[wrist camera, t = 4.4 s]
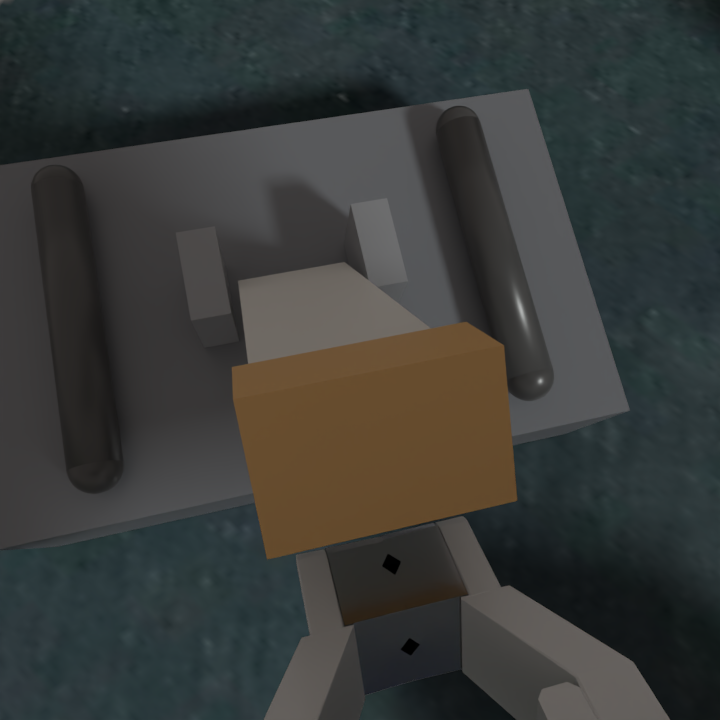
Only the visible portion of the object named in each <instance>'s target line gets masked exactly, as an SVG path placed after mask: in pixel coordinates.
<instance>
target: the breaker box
mask: <svg viewBox="0 0 720 720" xmlns="http://www.w3.org/2000/svg"><path fill="white" fill-rule="evenodd" d="M342 262H345V263H347V264H348V265H349V266H350V267H352V268H353V269H354V270H356V271H357V272H358V273H360V274H361V275H362V276H363V277H365V278H366V279H367V280H369V281H370V282H371V283H373V284H374V285H375V286H376V287H378V288H379V289H380V290H382V291H383V292H384V293H386V294H387V295H388V296H390V297H391V298H392V299H393V300H395V301H396V302H397V303H399V304H400V305H401V306H403V307H404V308H405V309H406V310H408V311H409V312H410V313H412V314H413V315H414V316H416V317H417V318H418V319H419V320H421V321H422V322H423V323H425V324H426V325H427V326H429V327H430V328H436V327H441V326H447V325H452V324H457V323H462V322H468V323H469V324H471V325H472V326H474V327H476V328H477V329H479V330H480V331H482V332H484V333H485V334H487V335H488V336H490V337H492V338H493V339H495V340H496V341H498V342H500V343H501V344H503V345H504V351H505V363H506V375H507V386H508V398H509V409H510V421H511V433H512V444H513V445H517V444H522V443H526V442H531V441H535V440H540V439H544V438H549V437H553V436H558V435H562V434H566V433H569V432H572V431H574V430H577V429H580V428H583V427H585V426H588V425H591V424H594V423H596V422H599V421H602V420H605V419H607V418H610V417H613V416H616V415H618V414H621V413H624V412H627V411H629V410H630V409H629V406H628V403H627V400H626V397H625V393H624V390H623V387H622V384H621V381H620V378H619V374H618V371H617V368H616V365H615V362H614V359H613V355H612V352H611V349H610V346H609V343H608V340H607V336H606V333H605V330H604V327H603V324H602V321H601V317H600V314H599V311H598V308H597V305H596V302H595V299H594V295H593V292H592V289H591V286H590V283H589V280H588V276H587V273H586V270H585V267H584V264H583V261H582V257H581V254H580V251H579V248H578V245H577V242H576V238H575V235H574V232H573V229H572V226H571V223H570V219H569V216H568V213H567V210H566V207H565V204H564V200H563V197H562V194H561V191H560V188H559V185H558V182H557V178H556V175H555V172H554V169H553V166H552V163H551V159H550V156H549V153H548V150H547V147H546V144H545V140H544V137H543V134H542V131H541V128H540V125H539V121H538V118H537V115H536V112H535V109H534V106H533V102H532V99H531V96H530V93H529V90H528V89H524V90H517V91H510V92H504V93H497V94H490V95H483V96H476V97H469V98H462V99H455V100H448V101H441V102H434V103H427V104H421V105H414V106H407V107H400V108H393V109H386V110H379V111H372V112H365V113H358V114H351V115H344V116H338V117H331V118H324V119H317V120H310V121H303V122H296V123H289V124H282V125H275V126H268V127H261V128H255V129H248V130H241V131H234V132H227V133H220V134H213V135H206V136H199V137H192V138H185V139H178V140H172V141H165V142H158V143H151V144H144V145H137V146H130V147H123V148H116V149H109V150H102V151H95V152H89V153H82V154H75V155H68V156H61V157H54V158H47V159H40V160H33V161H26V162H19V163H12V164H6V165H0V550H13V549H29V548H45V547H58V546H63V545H67V544H72V543H76V542H81V541H85V540H90V539H94V538H99V537H103V536H108V535H112V534H117V533H121V532H126V531H130V530H135V529H139V528H144V527H148V526H153V525H157V524H162V523H166V522H171V521H175V520H180V519H184V518H189V517H193V516H198V515H202V514H207V513H211V512H216V511H220V510H225V509H229V508H234V507H238V506H243V505H247V504H252V503H255V500H254V495H253V491H252V486H251V481H250V477H249V472H248V467H247V463H246V458H245V453H244V449H243V444H242V439H241V435H240V430H239V425H238V421H237V416H236V411H235V407H234V402H233V386H232V367H234V366H239V365H245V364H248V359H247V350H246V342H245V334H244V326H243V318H242V310H241V301H240V293H239V285H238V281H239V280H245V279H250V278H256V277H262V276H267V275H273V274H279V273H285V272H290V271H296V270H302V269H307V268H313V267H319V266H324V265H330V264H336V263H342Z"/></svg>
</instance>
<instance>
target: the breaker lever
mask: <svg viewBox="0 0 720 720" xmlns="http://www.w3.org/2000/svg"><path fill="white" fill-rule="evenodd" d="M238 285H239V293H240V301H241V310H242V318H243V326H244V334H245V342H246V350H247V359H248V364H245V365H239V366H234V367H232V386H233V402H234V407H235V411H236V416H237V421H238V425H239V430H240V435H241V439H242V444H243V449H244V453H245V458H246V463H247V467H248V472H249V477H250V481H251V486H252V491H253V495H254V500H255V505H256V509H257V514H258V519H259V523H260V528H261V533H262V537H263V542H264V547H265V551H266V556H267V559H271V558H276V557H280V556H284V555H288V554H293V553H297V552H301V551H305V550H310V549H314V548H318V547H322V546H327V545H331V544H335V543H340V542H344V541H348V540H352V539H357V538H361V537H365V536H369V535H374V534H378V533H382V532H386V531H391V530H395V529H399V528H403V527H408V526H412V525H416V524H421V523H425V522H429V521H433V520H438V519H442V518H446V517H450V516H455V515H459V514H463V513H467V512H472V511H476V510H480V509H484V508H489V507H493V506H497V505H501V504H506V503H510V502H514V501H517V491H516V479H515V468H514V456H513V444H512V433H511V421H510V409H509V398H508V386H507V375H506V363H505V351H504V345H503V344H501V343H500V342H498V341H496V340H495V339H493V338H492V337H490V336H488V335H487V334H485V333H484V332H482V331H480V330H479V329H477V328H476V327H474V326H472V325H471V324H469V323H468V322H462V323H457V324H452V325H447V326H441V327H436V328H430V327H429V326H427V325H426V324H425V323H423V322H422V321H421V320H419V319H418V318H417V317H416V316H414V315H413V314H412V313H410V312H409V311H408V310H406V309H405V308H404V307H403V306H401V305H400V304H399V303H397V302H396V301H395V300H393V299H392V298H391V297H390V296H388V295H387V294H386V293H384V292H383V291H382V290H380V289H379V288H378V287H376V286H375V285H374V284H373V283H371V282H370V281H369V280H367V279H366V278H365V277H363V276H362V275H361V274H360V273H358V272H357V271H356V270H354V269H353V268H352V267H350V266H349V265H348V264H347V263H345V262H342V263H336V264H330V265H324V266H319V267H313V268H307V269H302V270H296V271H290V272H285V273H279V274H273V275H267V276H262V277H256V278H250V279H245V280H239V281H238Z"/></svg>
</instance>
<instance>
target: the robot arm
mask: <svg viewBox="0 0 720 720" xmlns="http://www.w3.org/2000/svg"><path fill="white" fill-rule="evenodd" d="M325 550H326V551H325ZM296 563H297V569H298V574H299V579H300V585H301V590H302V595H303V601H304V606H305V611H306V617H307V622H308V628H309V633H310V636H306V637H303V638H301V640H300V642H299V644H298V646H297V649H296V651H295V653H294V655H293V657H292V659H291V662H290V664H289V666H288V668H287V670H286V672H285V675H284V677H283V679H282V681H281V683H280V685H279V688H278V690H277V692H276V694H275V696H274V698H273V700H272V703H271V705H270V707H269V709H268V711H267V713H266V716H265V718H264V720H359V718H360V715H361V711H362V708H363V704H364V701H365V695H367V694H371V693H374V692H377V691H381V690H384V689H387V688H391V687H394V686H397V685H401V684H404V683H408V682H411V681H415V680H419V679H423V678H427V677H431V676H436V675H440V674H444V673H448V672H452V671H457V670H461V669H462V672H463V673H464V674H465V675H466V676H468V677H469V678H470V679H471V680H472V681H473V682H474V683H475V684H477V685H478V686H479V687H480V688H481V689H482V690H483V691H485V692H486V693H487V694H488V695H489V696H490V697H491V698H492V699H494V700H495V701H496V702H497V703H498V704H499V705H500V706H501V707H503V708H504V709H505V710H506V711H507V712H508V713H509V714H511V715H512V716H513V717H514V718H515V719H516V720H670V719H669V717H668V716H667V714H666V713H665V711H664V709H663V708H662V706H661V705H660V703H659V702H658V700H657V698H656V697H655V695H654V694H653V692H652V691H651V689H650V687H649V686H648V684H647V683H646V681H645V680H644V678H643V676H642V675H641V673H640V672H639V670H638V669H637V667H636V665H635V664H634V662H633V661H631V660H629V659H628V658H626V657H625V656H623V655H621V654H620V653H618V652H617V651H615V650H613V649H612V648H610V647H608V646H607V645H605V644H604V643H602V642H600V641H599V640H597V639H595V638H594V637H592V636H591V635H589V634H587V633H586V632H584V631H583V630H581V629H579V628H578V627H576V626H574V625H573V624H571V623H570V622H568V621H566V620H565V619H563V618H561V617H560V616H558V615H557V614H555V613H553V612H552V611H550V610H549V609H547V608H545V607H544V606H542V605H540V604H539V603H537V602H536V601H534V600H532V599H531V598H529V597H527V596H526V595H524V594H523V593H521V592H519V591H518V590H516V589H515V588H513V587H511V586H510V585H509V586H504V587H501V586H500V584H499V582H498V580H497V578H496V576H495V574H494V572H493V570H492V568H491V566H490V564H489V562H488V560H487V558H486V556H485V554H484V552H483V550H482V548H481V547H480V545H479V543H478V541H477V539H476V537H475V535H474V533H473V531H472V529H471V527H470V525H469V523H468V521H467V519H465V518H464V517H463V516H460V517H456V518H452V519H448V520H444V521H440V522H436V523H435V524H434V523H430V524H426V525H422V526H418V527H414V528H410V529H406V530H402V531H398V532H394V533H390V534H386V535H382V536H380V537H376V538H371V539H367V540H362V541H357V542H352V543H348V544H343V545H338V546H333V547H328V548H325V549H321V550H317V551H312V552H307V553H302V554H298V555H296Z"/></svg>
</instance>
